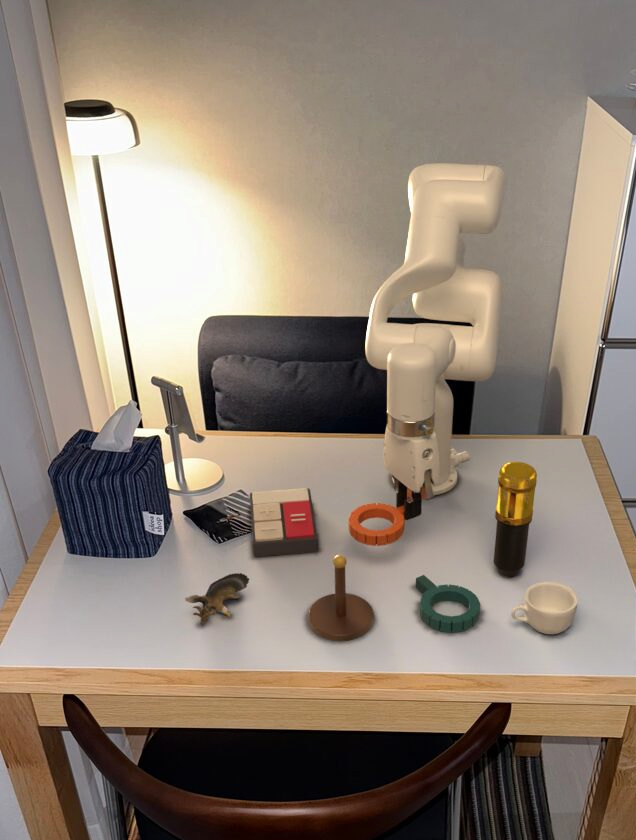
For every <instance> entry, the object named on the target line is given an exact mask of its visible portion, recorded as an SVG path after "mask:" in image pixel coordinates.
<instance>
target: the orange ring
mask: <svg viewBox="0 0 636 840" xmlns="http://www.w3.org/2000/svg"><path fill="white" fill-rule="evenodd" d="M375 518H378V519H384V520H386V521H389V522H390V523H391V525H390V526H389V527H387V528H384V529H378V530H377V529H376V530H375V529H369V528H367V527H364V526H362V523H363V522H365V521H367V520H370V519H375ZM405 521H407V520H406V519H405V518H404V505H403V506H400V507H398V508H396V506H393V505H391V504H387V503H380V502H377V503H376V502H372V503H366V504H365V503H364V504H362V505H360V506H358V507H356V508H355V509H353V510H352V511H351V513H350V514H349V517H348V532H349V535H350V537H352V538H353V539H354V541H357V542H358V543H361V544H363V545H367V546H371V547H372V546H373V547H376V546H377V547H380V546H387V545H390V544H392V543H395V542H397V541H398V540H399V539H401V537H402V536H403V535H404V533H405V524H406V523H405Z"/></svg>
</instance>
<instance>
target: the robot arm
mask: <svg viewBox="0 0 636 840" xmlns="http://www.w3.org/2000/svg"><path fill="white" fill-rule="evenodd" d="M408 176H409V177H408V181H407V182H408V183H407V194H408V204H409V210H410V220H409V227H408V236H407V241H406V248H405V256H404V257H405V258H404V262H403V264H402V265H401V266H400V267H399V268H398V269H397V270H396V271H394V272H393V273H392V274H390V276H389V277H388V278H387V279H386V280H385V281H384V282H383V283H382V285H381V286H380V288H379V289H378V291H377V292H376V294H375V295H374V298H373V300H372V303H371V306H370V309H369V315H368V316H369V318H368V322H367V329H366V335H365V345H364V346H365V347H364V348H365V349H364V351H365V352H364V353H365V357H366V361H367V363H368V364H369V365H370V366H371V367H372V368H375V369H378V370H384V371H386V409H387V410H386V427H385V431H384V439H383V440H384V442H383V443H384V444H383V464H384V468H385V469H386V470H387V472H389V474H390V475H391V480H392V483H393V488H394V491H395V492H396V494H395V499H396V501H395V503H396V504H395V508H398V507H400V506H403V505H404V518H405V519H406V520H405V521H409V520H412V519H415V518H417V517H419V516H421V515H422V512H423V511H422V505H423V501H429V500H432V499H434V497H435V496H437V495H438V496H439V495H442V494H445V493H446V492H449V491H451V490H452V489H454V488H455V487H456V485H457V483H458V472H457V469H455V467H458V465H459V464H461V463H465V462H467V461H470V459H471V454H470V452H469V451H468V450H465V451H461V452H458V453H457V450H456V449H455V448H452V437H453V419H454V417H453V416H454V396H453V393H452V389H451V388H450V386H449V384H448V383H447V381H446V380H450V381H451V380H452V381H462V382H485V381H487V380H489V379H490V378H491V377H492V376H493V374H494V372H495V369H496V364H497V358H498V349H499V348H498V347H499V337H500V327H501V316H502V307H503V284H502V281H501V278H500V276H499V275H498V274H497V273H496V272H495V271H492V270H490V269H487V268H486V269H485V268H476V267H475V268H474V267H464V263H465V256H466V242H465V239H464V237H463V236H462V234H474V235H475V234H476V235H490V234H492V233H493V232H495V230H497V227H498V225H499V223H500V220H501V217H502V213H503V210H504V206H505V202H506V197H507V188H508V187H507V186H508V185H507V177H506V174H505V171H504V170H503V169H502V168H501V167H499V166H497V165H492V164H471V163H469V164H467V163H447V162H435V163H434V162H433V163H425V164H421V165H418V166H416V167H414V168H413V169H412V170H411V172H410V173H409V175H408ZM411 296H412V307H413V310H414V313H415V314H416V315H417V316H418V317H421V318H422V319H423V318H424V319H426V320H433V321H443V322H457V323H469V324H471V325H472V326H470V325H469V326H467V325H455V324H446V323H429V322H422V323H421V322H420V323H419V322H418V323H413V324H411V323H398V322H388V318H389V315H390V313H391V312H392V310H393V308H394V307H396V306H397V304H399V303H400V302H401V301H403V300H405V299H406V298H408V297H411Z"/></svg>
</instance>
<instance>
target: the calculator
mask: <svg viewBox="0 0 636 840" xmlns="http://www.w3.org/2000/svg"><path fill="white" fill-rule="evenodd" d="M249 503H250V504H249V506H250V518H251V519H250V521H251V537H252V551H253V557H255V558H259V557H260V558H261V557H272V556H284V555H294V554H296V555H297V554H306V553H307V554H308V553H316V552H318V551H319V545H318V543H319V541H318V539H319V538H318V532H317V525H316V519H315V512H314V507H313V501H312V494H311V488H305V487H302V488H291V489H280V490H279V489H277V490H264V491H253V492H249Z"/></svg>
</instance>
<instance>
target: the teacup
mask: <svg viewBox="0 0 636 840" xmlns="http://www.w3.org/2000/svg"><path fill="white" fill-rule="evenodd" d="M578 602H579V599H578V594H577V593H576V592H575V591H574V590H573V589H572V588H571V587H569V586H568V585H565V584H563V583H559V582H555V581H540V582H536V583H534V584H532V585H530V586H529V587H528V588H527V589H526V591H525V592H524V604H520V605H516V606H514V607H513V608H512V609H511V611H510V612H511V613H510V614H511V617H512V618H513V619H514V620H516V621H519V622H523V623H524V622H525V623H528V624H529V625H530V626H531V628H533V630H535V631H537V632H539V633H541V634H545V635H557V634H561V633H564V632H565V631H566V630H567V629H568V628H569V627H571V624H572V623H573V621H574V618H575V616H576V612H577V607H578ZM518 610H522V611H523V612H524V615H523V616H517V615H515V613H516V612H517V611H518Z"/></svg>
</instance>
